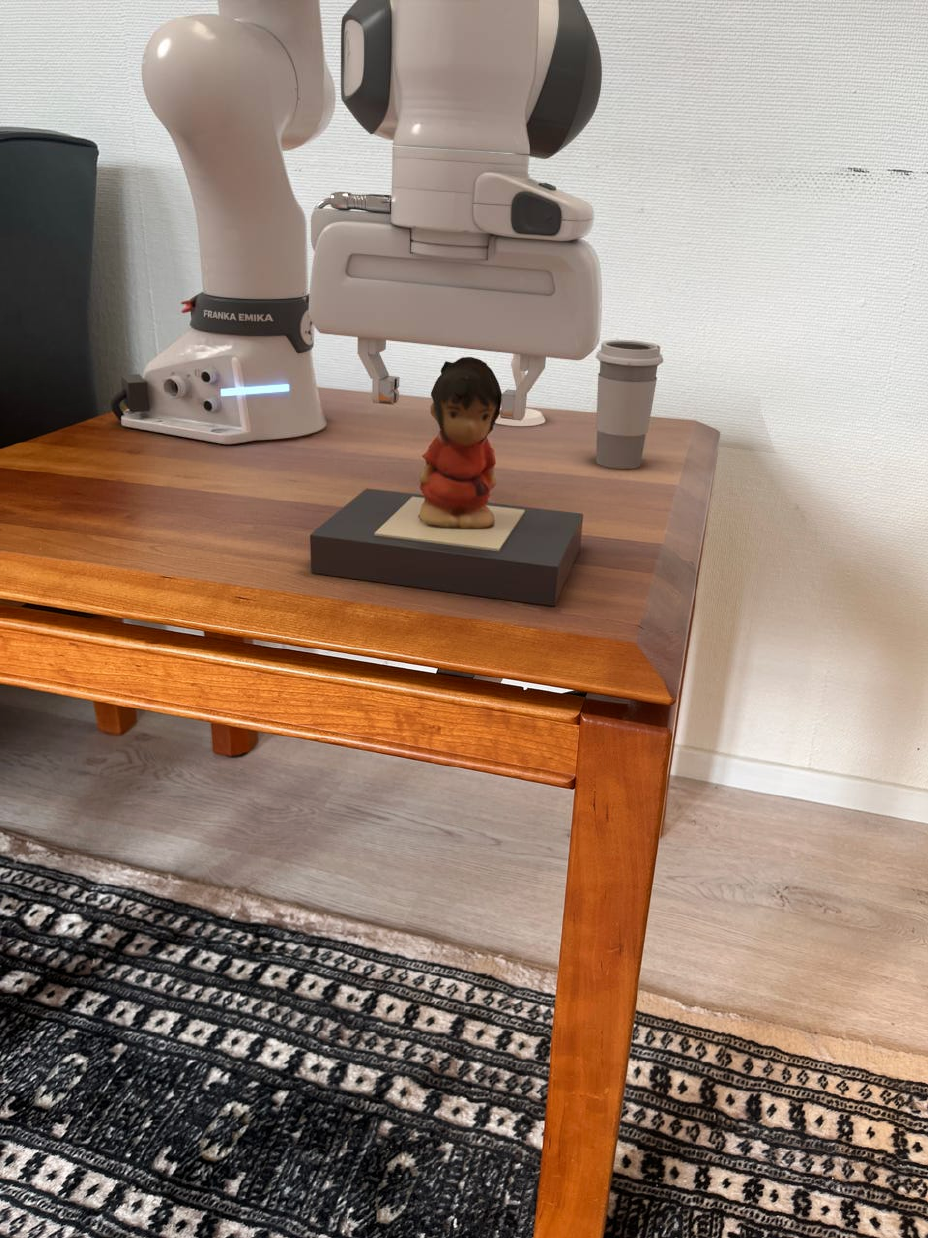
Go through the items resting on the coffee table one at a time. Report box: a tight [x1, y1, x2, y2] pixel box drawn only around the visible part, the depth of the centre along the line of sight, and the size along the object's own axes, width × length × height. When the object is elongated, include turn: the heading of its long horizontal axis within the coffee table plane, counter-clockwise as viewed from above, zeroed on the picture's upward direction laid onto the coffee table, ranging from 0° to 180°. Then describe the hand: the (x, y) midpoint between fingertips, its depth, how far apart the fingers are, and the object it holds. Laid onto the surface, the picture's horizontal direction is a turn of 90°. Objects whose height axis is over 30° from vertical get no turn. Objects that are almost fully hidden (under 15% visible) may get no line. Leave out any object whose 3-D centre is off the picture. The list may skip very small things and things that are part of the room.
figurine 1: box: [418, 356, 503, 529], centre depth 71 cm, size 6×6×12 cm
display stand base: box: [309, 488, 584, 607], centre depth 74 cm, size 18×12×3 cm, turn 75°
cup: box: [595, 339, 664, 470], centre depth 100 cm, size 7×7×12 cm
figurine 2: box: [494, 354, 546, 427], centre depth 116 cm, size 7×7×12 cm
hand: (448, 410), depth 70 cm, fingers open, 8 cm apart
